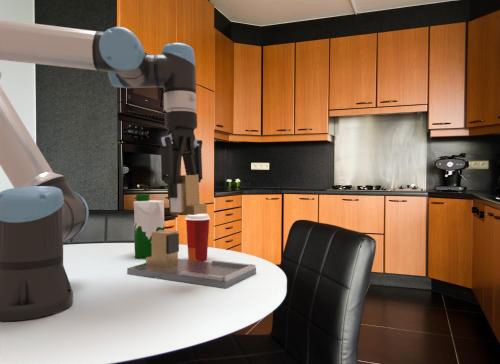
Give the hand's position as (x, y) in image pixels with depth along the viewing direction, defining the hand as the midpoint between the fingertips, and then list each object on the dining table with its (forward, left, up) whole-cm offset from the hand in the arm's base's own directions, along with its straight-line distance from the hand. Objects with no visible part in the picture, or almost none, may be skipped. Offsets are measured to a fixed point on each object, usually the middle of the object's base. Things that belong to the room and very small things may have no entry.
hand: (184, 210), depth 93 cm
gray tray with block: (+10, +5, -18) cm, 21 cm away
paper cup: (+25, +13, -18) cm, 34 cm away
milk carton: (+23, +30, -18) cm, 42 cm away
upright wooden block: (0, 0, -1) cm, 1 cm away
